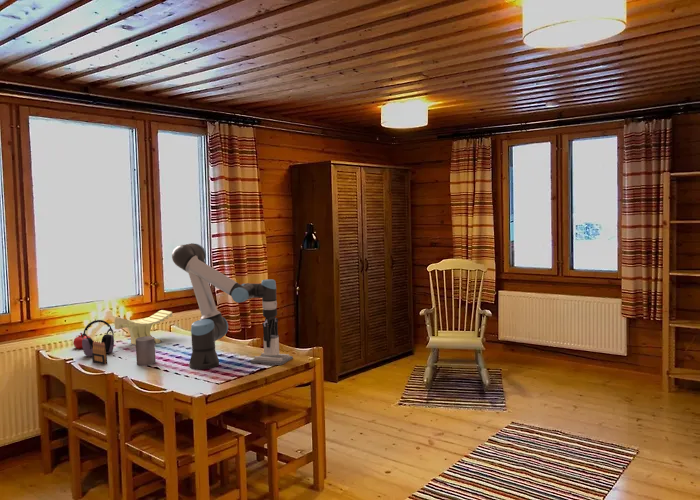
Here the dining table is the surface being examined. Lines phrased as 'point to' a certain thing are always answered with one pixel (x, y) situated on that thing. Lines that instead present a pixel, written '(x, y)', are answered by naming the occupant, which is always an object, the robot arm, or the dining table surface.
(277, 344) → the grey rectangular block
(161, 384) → the dining table surface
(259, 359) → the end holder
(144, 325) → the slatted curved stool
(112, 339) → the headphones
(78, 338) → the pomegranate
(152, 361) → the pillar candle
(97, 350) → the ammunition clip
